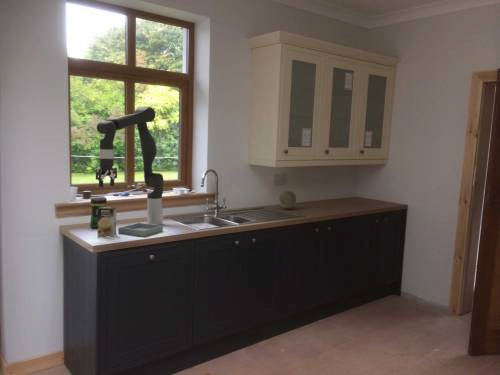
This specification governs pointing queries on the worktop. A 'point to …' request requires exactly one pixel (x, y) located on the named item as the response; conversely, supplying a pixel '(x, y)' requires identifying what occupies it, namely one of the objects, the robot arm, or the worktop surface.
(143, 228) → the tray
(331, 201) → the worktop surface
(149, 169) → the robot arm
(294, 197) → the cantaloupe
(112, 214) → the coffee box
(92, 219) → the coffee jar
